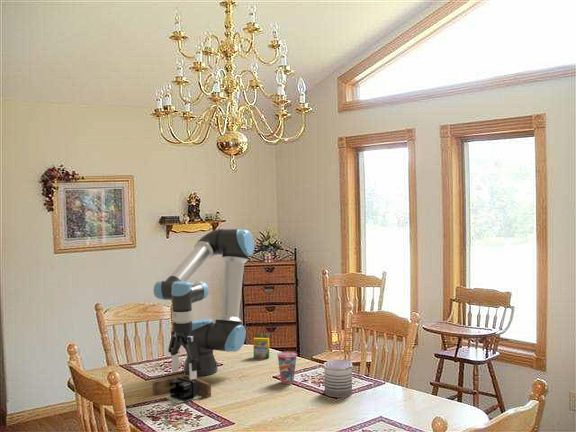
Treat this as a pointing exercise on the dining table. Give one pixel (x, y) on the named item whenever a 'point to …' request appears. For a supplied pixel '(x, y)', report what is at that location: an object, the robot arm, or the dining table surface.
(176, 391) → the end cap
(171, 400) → the pad
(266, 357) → the crayon box
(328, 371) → the can
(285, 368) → the cup
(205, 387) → the brown l-shaped piece
